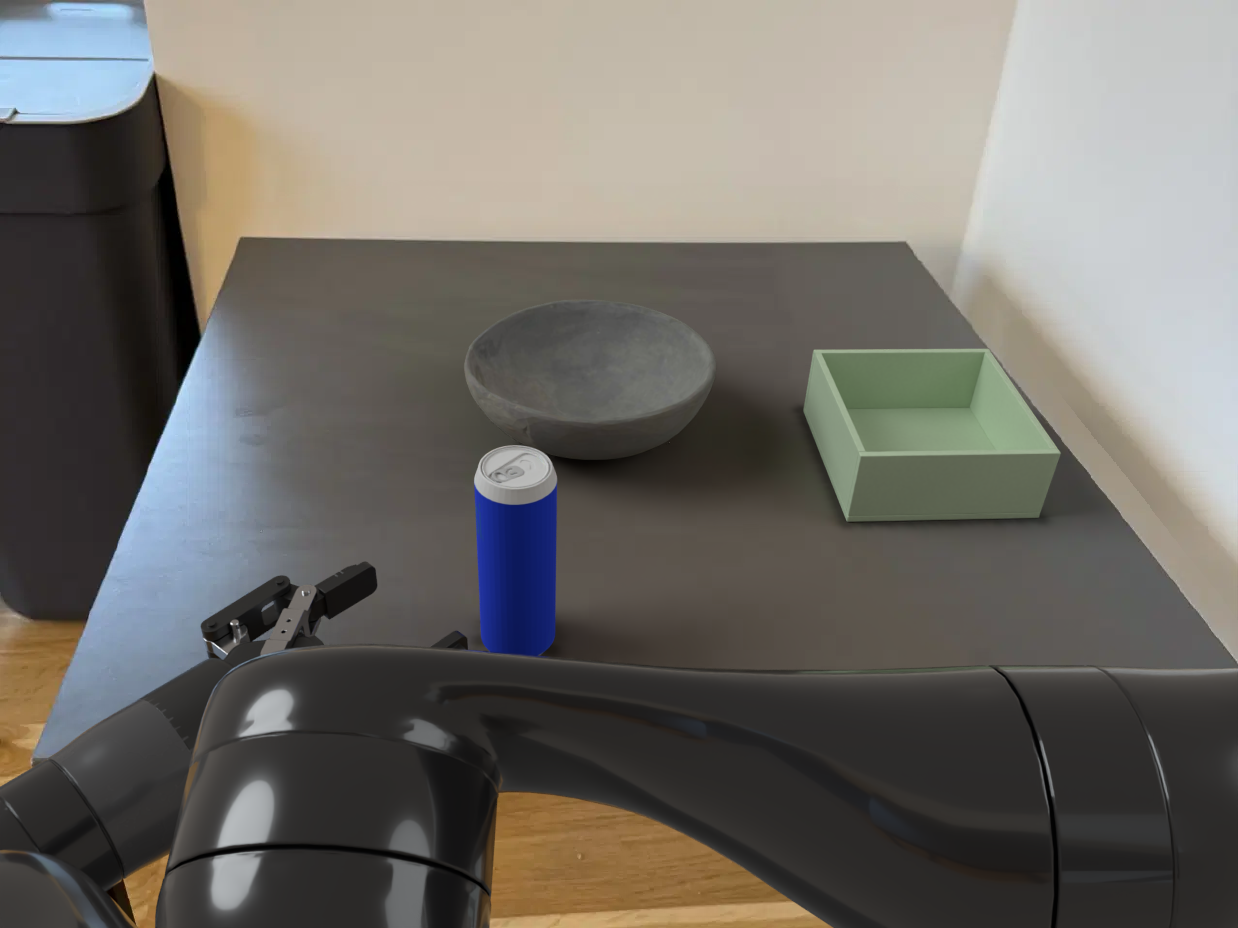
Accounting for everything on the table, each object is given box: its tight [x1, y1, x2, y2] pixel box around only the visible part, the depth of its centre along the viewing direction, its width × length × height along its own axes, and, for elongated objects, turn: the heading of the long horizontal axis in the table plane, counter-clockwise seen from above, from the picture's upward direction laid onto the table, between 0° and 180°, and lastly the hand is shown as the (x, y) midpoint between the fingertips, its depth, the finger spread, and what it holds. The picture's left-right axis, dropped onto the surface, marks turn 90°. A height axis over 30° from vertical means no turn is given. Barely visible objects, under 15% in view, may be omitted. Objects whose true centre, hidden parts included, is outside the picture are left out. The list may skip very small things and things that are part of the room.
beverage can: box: [473, 444, 558, 656], centre depth 73 cm, size 5×5×15 cm
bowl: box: [463, 299, 717, 461], centre depth 96 cm, size 21×21×8 cm
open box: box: [802, 348, 1062, 523], centre depth 95 cm, size 16×16×7 cm
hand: (416, 607), depth 67 cm, fingers open, 8 cm apart
